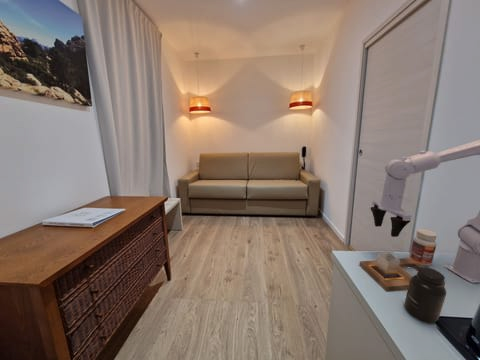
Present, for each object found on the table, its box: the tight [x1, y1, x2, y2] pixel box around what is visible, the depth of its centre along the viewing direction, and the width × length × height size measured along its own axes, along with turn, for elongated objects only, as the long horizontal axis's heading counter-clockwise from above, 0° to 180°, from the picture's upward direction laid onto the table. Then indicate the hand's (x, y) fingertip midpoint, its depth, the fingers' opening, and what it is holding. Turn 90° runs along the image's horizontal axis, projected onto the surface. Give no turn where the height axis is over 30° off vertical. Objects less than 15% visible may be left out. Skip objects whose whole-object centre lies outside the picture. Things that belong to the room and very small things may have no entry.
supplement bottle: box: [403, 266, 447, 324], centre depth 53 cm, size 7×7×12 cm
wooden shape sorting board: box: [359, 257, 446, 292], centre depth 68 cm, size 19×12×2 cm, turn 97°
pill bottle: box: [409, 228, 438, 267], centre depth 74 cm, size 6×6×11 cm
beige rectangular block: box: [375, 252, 400, 279], centre depth 67 cm, size 4×4×7 cm
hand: (385, 230), depth 76 cm, fingers open, 7 cm apart
